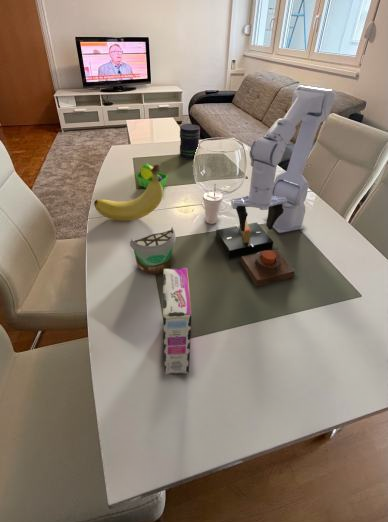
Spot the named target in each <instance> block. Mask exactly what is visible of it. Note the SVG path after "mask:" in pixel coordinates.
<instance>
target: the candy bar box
mask: <svg viewBox="0 0 388 522" xmlns="http://www.w3.org/2000/svg"><path fill="white" fill-rule="evenodd" d="M162 274H163V275H162V278H163V279H162V320H163V321H162V323H163V324H162V325H163V363H164V364H163V367H164V370H163V372H164V373H163V374H164V375H181V374H182V375H183V374H189V373H190V357H191V356H190V354H191V334H192V303H191V293H190V282H189V271H188V267H176V268H168V269H164V272H162Z"/></svg>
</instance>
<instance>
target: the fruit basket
mask: <svg viewBox="0 0 388 522" xmlns="http://www.w3.org/2000/svg"><path fill="white" fill-rule="evenodd" d="M151 169H153V166H152V165H150V164H149V163H144V164H143V165H141V167H140V171H139V172H138V173H136V174H135V178H136V180H137V182H138V184H139V187H142V188H145V189H147V187H148V185H149V184H150V183H151V181H152V177H153V174H152V172H151V171H150V170H151ZM168 177H169V176H168V175H167V174H165V173H161V172H158V173H157V179H158V181H159V183H160V184H161V186H162V188H165V186H166V182H167V180H168Z"/></svg>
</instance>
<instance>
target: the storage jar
mask: <svg viewBox="0 0 388 522" xmlns="http://www.w3.org/2000/svg"><path fill="white" fill-rule="evenodd" d="M200 137H201V127H200V125H198V124H194V123H184V124H181V125H180V126H179V138H180V144H179V157H180V158H182V159H184V160H195V159H194V155H195V152H196V149H197V147H198V144H199V145H200Z"/></svg>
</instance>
